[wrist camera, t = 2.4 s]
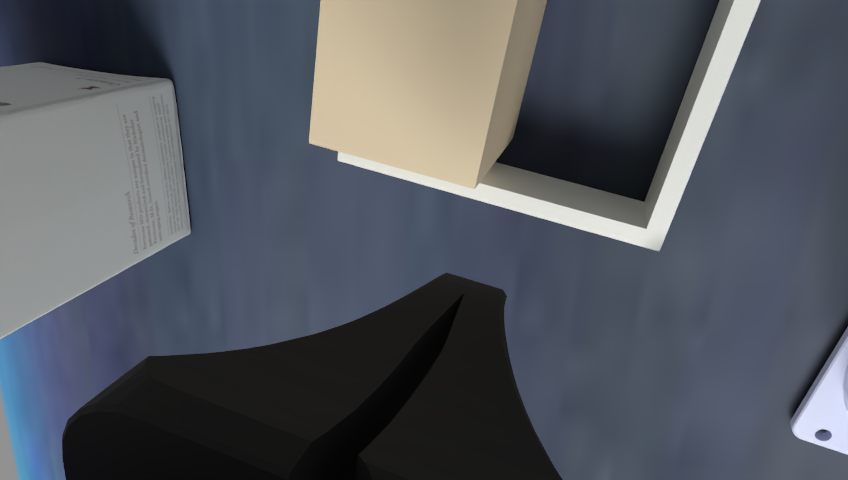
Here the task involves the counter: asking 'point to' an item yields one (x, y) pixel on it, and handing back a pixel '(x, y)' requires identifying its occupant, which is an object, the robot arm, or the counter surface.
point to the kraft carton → (423, 81)
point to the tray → (604, 208)
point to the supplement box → (82, 182)
